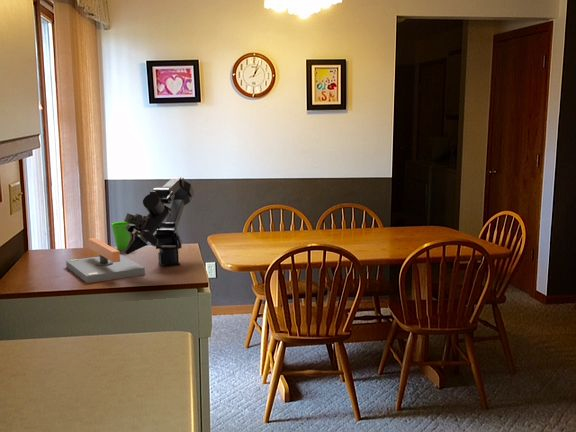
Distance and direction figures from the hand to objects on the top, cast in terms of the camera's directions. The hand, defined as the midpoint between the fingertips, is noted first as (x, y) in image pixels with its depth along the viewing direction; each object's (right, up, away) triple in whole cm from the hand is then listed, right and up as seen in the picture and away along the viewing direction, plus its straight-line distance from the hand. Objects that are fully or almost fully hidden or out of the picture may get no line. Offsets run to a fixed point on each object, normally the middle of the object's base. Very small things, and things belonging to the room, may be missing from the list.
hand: (125, 253), depth 213 cm
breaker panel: (-10, -7, +8) cm, 14 cm away
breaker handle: (-10, -4, +8) cm, 13 cm away
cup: (-13, -1, +45) cm, 47 cm away
